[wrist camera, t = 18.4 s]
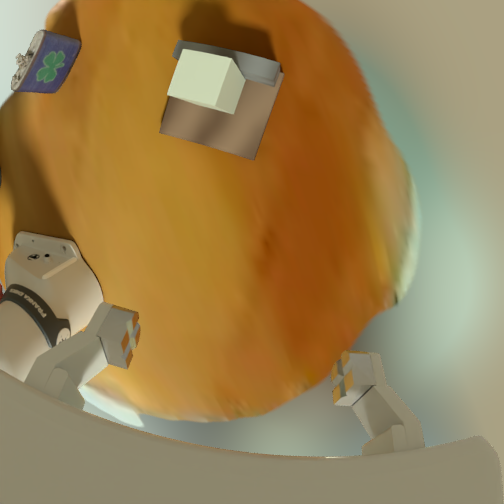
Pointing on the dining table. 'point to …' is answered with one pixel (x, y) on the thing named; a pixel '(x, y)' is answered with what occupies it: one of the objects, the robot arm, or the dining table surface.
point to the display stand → (221, 123)
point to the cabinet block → (207, 81)
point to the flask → (45, 63)
